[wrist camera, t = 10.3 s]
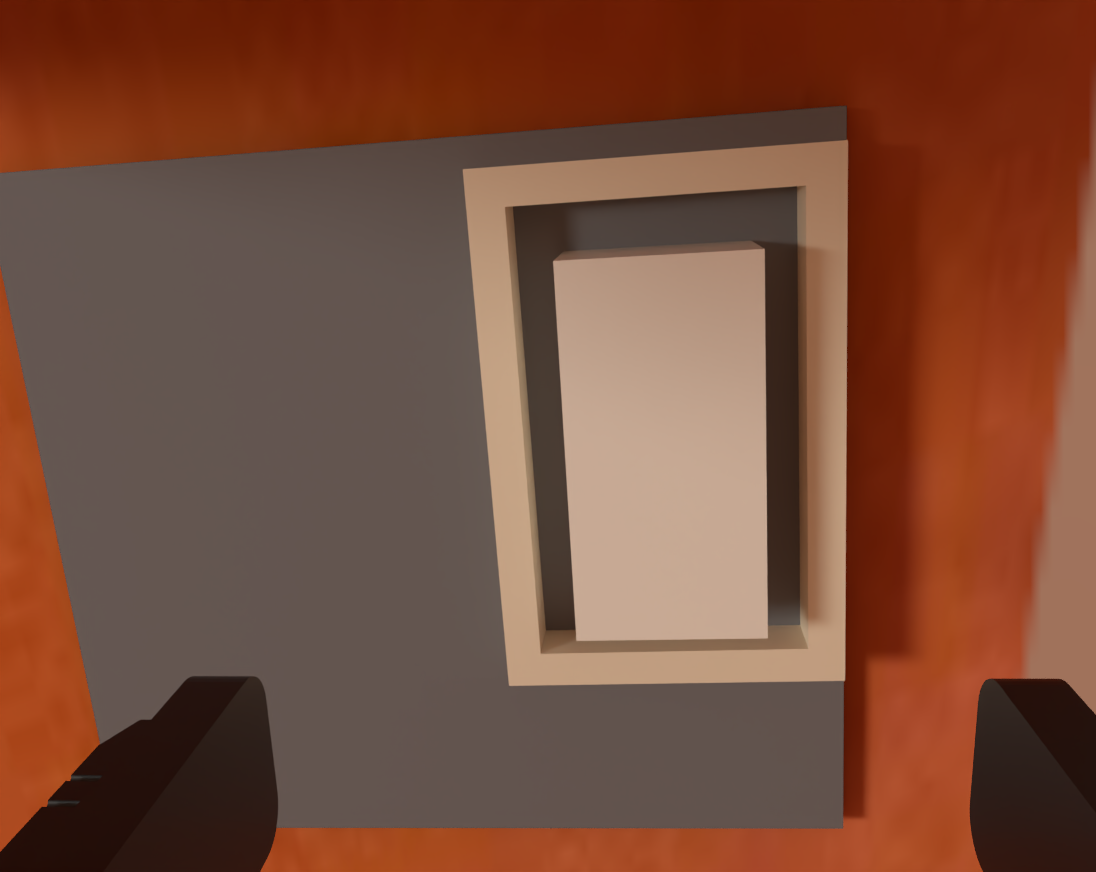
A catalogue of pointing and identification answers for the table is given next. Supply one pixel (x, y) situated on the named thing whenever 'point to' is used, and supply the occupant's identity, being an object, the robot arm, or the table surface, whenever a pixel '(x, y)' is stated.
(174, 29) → the table surface
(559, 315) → the tile
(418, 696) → the mat
